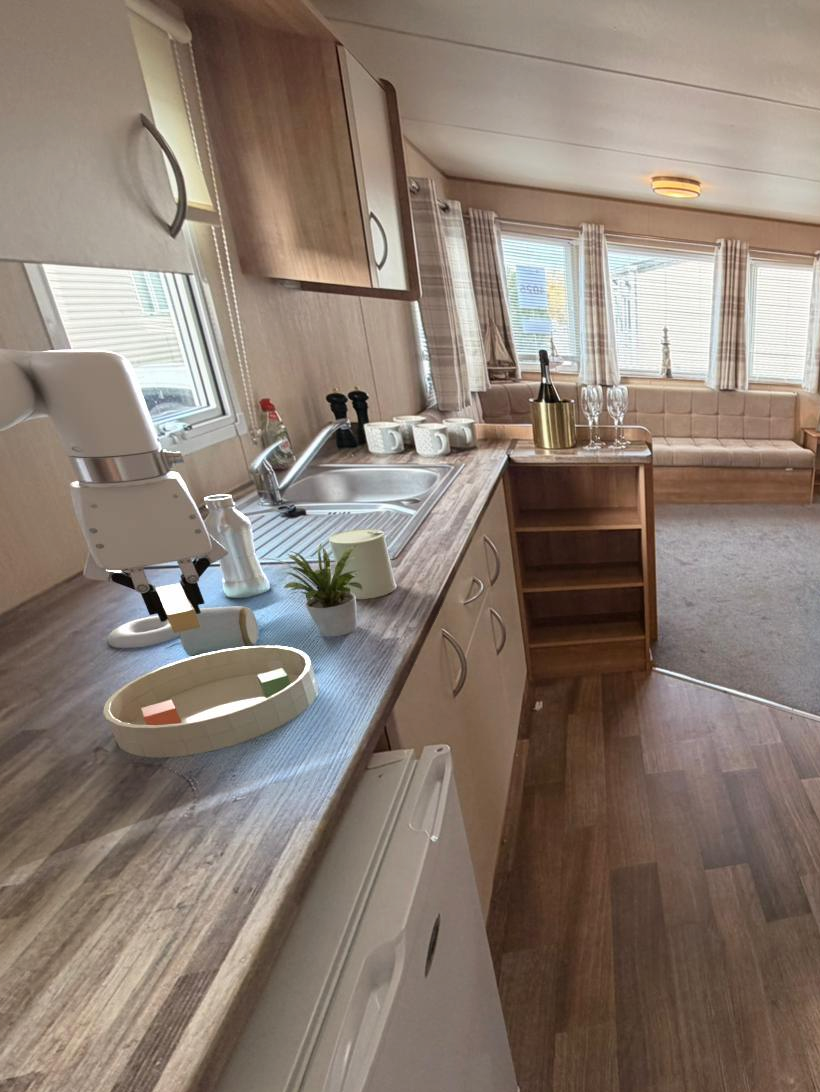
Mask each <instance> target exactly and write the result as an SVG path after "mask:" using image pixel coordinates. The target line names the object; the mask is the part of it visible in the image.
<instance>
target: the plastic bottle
mask: <svg viewBox="0 0 820 1092" xmlns="http://www.w3.org/2000/svg"><path fill="white" fill-rule="evenodd" d="M203 499H204V503H205V508H206V509H207V510H209V513H208V514H207V516H206V518H205V520H204V521H203V522H204V524H205V527H206V529H207V532H208V533H209V534H210V535H211V536H212V537H213V538H214V539H215V540H216V541H217V542H219V543H220V544H221V545H222V546H223V547H224V548H225V549H226V550H227V552H228V554H227V555H226V556H225V557H223V558H221V559H220V560H218V562H219V567H220V571H221V576H222V588H223V592H224V594H225V595H226V597H227V598H232V599H240V598H241V599H242V598H248V597H249V598H250V597H254V596H258V595H262V594H264V593H266V592H268V591H269V590H270V588H271V586H270V584H271V583H270V581H269V579H268V577H267V576H266V574H265V572H264V571H263V568H262V566H261V563H260V561H259V558H258V556H257V552H256V548H255V544H254V543H255V542H254V535H253V525H252V522H251V521H250V520H249V518H248V517H247V516H246V515H244V514H243V512H241V511H239V510H237V509H236V508H235V507H236V503H235V501H234V499H233V496H232V495H231V494H215V495H209V496H206V497H204V498H203Z"/></svg>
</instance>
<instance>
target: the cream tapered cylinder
mask: <svg viewBox="0 0 820 1092" xmlns="http://www.w3.org/2000/svg"><path fill="white" fill-rule="evenodd" d="M385 535H386V534H385V532H384V531H383V530H381V529H376V528H357V529H350V530H346V531H345V530H344V531H341V532H338V533H335V534H332V535H330V536H329V538H328V542H329V545H330V548H331V549H330V550H331V551H332V552H331V553H332V556H333V559H334V562H335V566H336V565H337V563H338V562H339V560H340V559H341V557H342V556H343V554H344V553H345V552H346V551H347V550H348V549H349V548H350V547H352V546H354V545H356V544H358V545H357V546H356V547H355V548H354V549H353V550H352V551H351V553H350V556H349V558H348V559H347V561H346V562H345V564H346V563H347V562H348V561H349V560H350V561H349V562H348V563H347V564H346V565H345V564H344V565H345V567H344V568H343V570H342V572H341V574H344V573H347V572H351V571H356V570H360V571H356V572H353V573H350V574H358V575H355V576H356V577H354V578H352V579H351V580H350V581H349V583H350V582H357V583H359V584H361V586H362V590H361V589H359V588H357V587H354V586H350V585H347V587H348V588H350V593H353V594H354V595H355V596H356V600H368V599H369V598H370V599H375V598H379V597H383V596H387V595H388V594H391V593H392V592H394V591H396V589H397V588H398V585H397V583H396V580H395V575H394V572H393V568H392V563H391V558H390V555H389V549H388V545H387V540H386V536H385ZM336 549H337V550H336ZM335 550H336V551H335ZM334 551H335V552H334ZM333 552H334V553H333ZM356 556H358V557H356ZM354 557H355V558H354ZM352 558H353V559H352ZM341 574H340V575H341ZM370 599H369V600H370Z"/></svg>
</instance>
